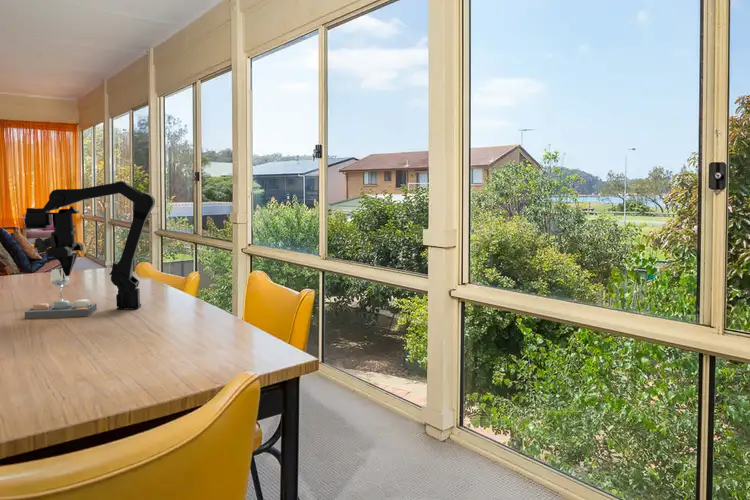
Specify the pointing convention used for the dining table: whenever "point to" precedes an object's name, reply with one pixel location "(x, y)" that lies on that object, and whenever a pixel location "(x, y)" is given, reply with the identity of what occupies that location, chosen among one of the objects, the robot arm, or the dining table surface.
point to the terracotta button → (41, 306)
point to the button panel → (60, 312)
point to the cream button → (81, 303)
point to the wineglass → (59, 279)
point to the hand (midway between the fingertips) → (67, 275)
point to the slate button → (61, 304)
